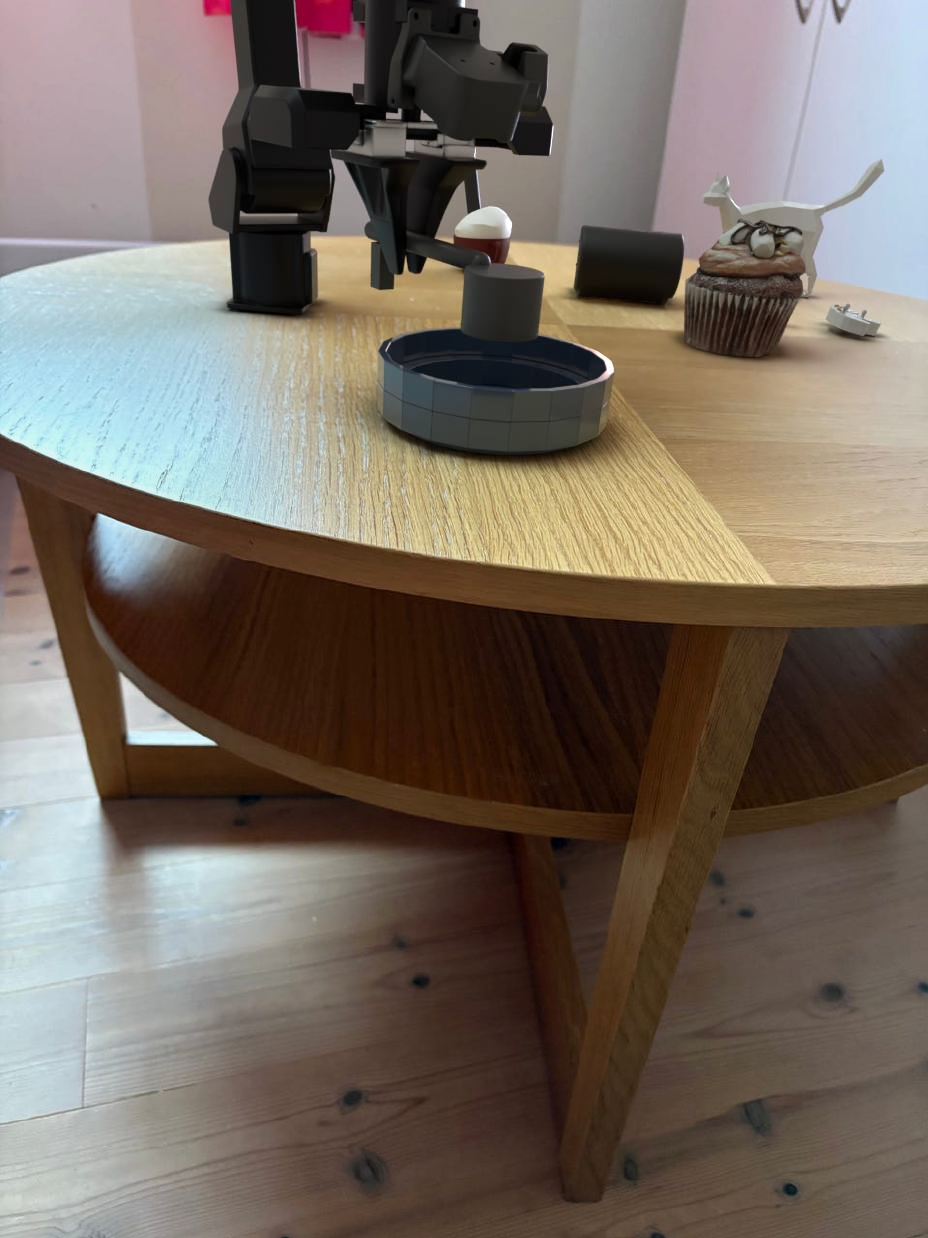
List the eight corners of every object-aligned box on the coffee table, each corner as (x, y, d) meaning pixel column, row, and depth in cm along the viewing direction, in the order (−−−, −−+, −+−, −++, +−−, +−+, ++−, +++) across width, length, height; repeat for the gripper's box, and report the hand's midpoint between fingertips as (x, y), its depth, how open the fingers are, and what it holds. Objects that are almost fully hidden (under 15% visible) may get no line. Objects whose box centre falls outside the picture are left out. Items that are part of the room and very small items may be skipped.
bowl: (361, 449, 49) (361, 377, 47) (393, 379, 61) (394, 319, 59) (612, 471, 49) (624, 400, 47) (595, 396, 61) (604, 337, 59)
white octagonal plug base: (888, 340, 83) (897, 312, 82) (775, 338, 81) (782, 308, 80) (856, 325, 88) (864, 298, 86) (748, 322, 86) (755, 294, 84)
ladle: (339, 284, 61) (339, 219, 59) (395, 280, 63) (397, 218, 61) (492, 346, 50) (499, 268, 47) (554, 339, 52) (562, 265, 50)
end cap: (574, 302, 88) (583, 229, 84) (569, 288, 94) (578, 219, 90) (674, 311, 88) (688, 237, 84) (663, 296, 94) (676, 227, 90)
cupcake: (710, 326, 83) (735, 209, 78) (806, 350, 77) (840, 226, 72) (651, 338, 77) (674, 213, 72) (751, 366, 71) (782, 231, 66)
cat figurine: (678, 284, 101) (703, 144, 94) (838, 291, 104) (875, 157, 97) (692, 292, 97) (720, 147, 90) (858, 299, 101) (898, 160, 93)
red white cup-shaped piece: (509, 280, 96) (520, 155, 90) (451, 276, 95) (458, 150, 89) (504, 264, 104) (514, 149, 98) (451, 261, 104) (458, 145, 97)
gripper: (343, -48, 40) (343, 311, 48) (633, 1, 50) (592, 290, 58) (238, -38, 47) (253, 271, 55) (508, 2, 57) (488, 259, 65)
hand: (405, 273), depth 58 cm, fingers closed on ladle
